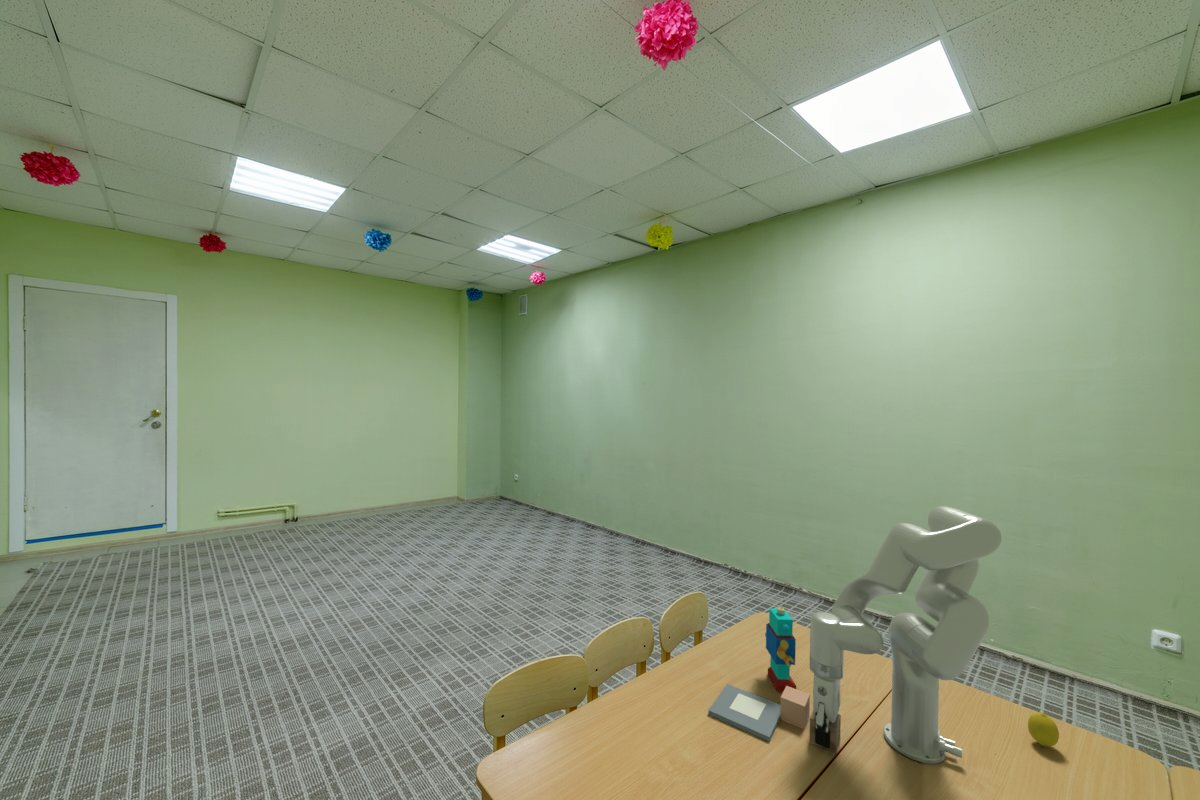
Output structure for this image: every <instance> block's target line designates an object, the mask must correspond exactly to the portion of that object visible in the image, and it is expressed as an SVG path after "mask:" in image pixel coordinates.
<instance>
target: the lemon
mask: <svg viewBox="0 0 1200 800" xmlns="http://www.w3.org/2000/svg"><path fill="white" fill-rule="evenodd" d="M1027 728H1028V732H1029V734H1030V736H1031V738H1033V740H1034V741H1036V742H1037V743H1039V744H1040V746H1041V747H1054V746H1055V745H1056V744H1057V743H1058V742H1059V739H1060V732H1059V728H1058V725H1057V723H1056V722H1055V721H1054V720H1053V719H1052V718H1051V717H1050V716H1048V715H1046V713H1043V712H1041V713H1039V712H1035V713H1032V714H1030V716H1029V718H1028V721H1027Z"/></svg>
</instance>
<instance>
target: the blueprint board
mask: <svg viewBox="0 0 1200 800" xmlns="http://www.w3.org/2000/svg"><path fill="white" fill-rule="evenodd" d="M780 706H781V704H779V703H778V702H777V703H776V702H774V701H772V700H769V699H766V698H764V697H762V696H759V695H757V694H754V693H751V692H749V691H746V690H744V689H741V688H738V687H736V686H733V685H732V684H729V683H727V684H726V685H725V686H724V687H723V689H722V690H721V692H720V693H719V695H718V696H717V697H716V699H715V700H714V702H713V703H712V704H711V706H710V707H709V709H708V711H707V712H708V714H707V715H709V716H711V717H713V718H715V719H718V720H720V721H721V722H724V723H726V724H728V725H731V726H733V727H735V728H738V729H739V730H742V731H745V732H747V733H749V734H751V735H753V736H756V737H757V738H760V739H762V740H764V741H767V742H771V740H772V737H773V735H774V733H775V731H776V729H777V727H778V724H780V721H781V719H780Z"/></svg>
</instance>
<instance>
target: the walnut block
mask: <svg viewBox="0 0 1200 800" xmlns="http://www.w3.org/2000/svg"><path fill="white" fill-rule="evenodd" d="M824 716H825V717H827V715H826V714H824ZM841 720H842V716H841V714H839V713H838V715H837V718H836V721H835V722H834V723H832V722H830V721H829V731H830V747H829V749H828V748H826V747H823V746H821V745H819V744H816V743H815V726H816V716H815V715H814V714H813V710H812V711H811V714H810V715H809V743H811V744H812V745H815V746H818V747H820V748H822V749H824V750H827V751H830V752H832V753H833V754H837V753H838V748H839V745H840V741H841V726H842V725H841V723H842V722H841ZM824 724H825V725H826V720H824Z"/></svg>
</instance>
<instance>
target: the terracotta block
mask: <svg viewBox="0 0 1200 800" xmlns="http://www.w3.org/2000/svg"><path fill="white" fill-rule="evenodd" d="M810 698H811V695H810V693H807V692H805V691H802V690H799V689H797V688H796V689H794V688H791V687H789V686H786V688H785V690H784V691H782V693H781V695H780V705H781V706H780V721H782V722H783V721H784V722H786V723H788V724H791V725H793V726H795V727H798V728H800V729H803V730H805V728H806V726H807V724H808V721H809V720H810V709H811V707H810V701H811V699H810Z"/></svg>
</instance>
